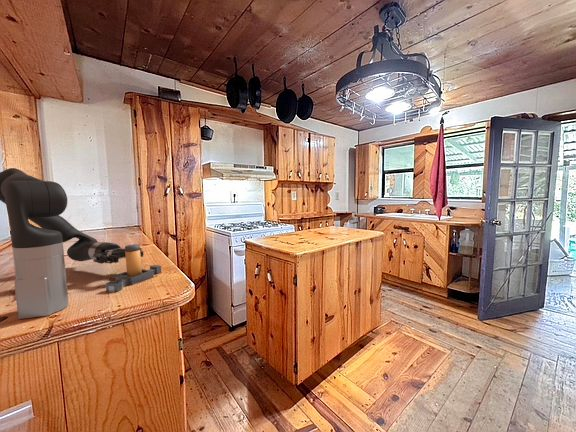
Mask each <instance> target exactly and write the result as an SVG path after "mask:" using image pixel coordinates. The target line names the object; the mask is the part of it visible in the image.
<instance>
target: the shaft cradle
mask: <svg viewBox="0 0 576 432" xmlns="http://www.w3.org/2000/svg"><path fill="white" fill-rule="evenodd" d="M161 272H162V265H158V264H153V265H150V266H149V269H144V268H142V274H138V275H135V276H127V271H124V272H123V271H122V272H120V273H118V274H115V275H114V278H115V280H111V281H108V282H106V283H105V292H106V293H117V292H118V293H119V292H120V291H122V290H123V288H125V287H127V286H129V285H130V286H133V285H136V284H139V283H142V282H145V281H148V280H150V279H154V278H155V275H158V274H161Z"/></svg>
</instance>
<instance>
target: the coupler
mask: <svg viewBox="0 0 576 432" xmlns="http://www.w3.org/2000/svg"><path fill="white" fill-rule="evenodd" d="M124 248H125V255H126V258H125V264H126V265H125V267H126V272H127V276H135V275H138V274H142V269H143V268H142V259H141V258H142V257H141V255H140V248H141V246H140V244H129V245H125V246H124Z"/></svg>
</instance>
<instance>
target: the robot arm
mask: <svg viewBox="0 0 576 432" xmlns="http://www.w3.org/2000/svg"><path fill="white" fill-rule="evenodd" d="M62 186H63V185H61V184H59V183H57V182H55V181H51V180H41V179H40V178H37V177H35V176H32V175H28V174H27V173H25V172H24V171H22V170H21V169H18V168H16V167H11V168H7V169H5V170H2V171H1V172H0V201H1V203H3V204H5V207H6V211H7V216H8V220H9V221H8V222H9V228H10V237H11V238H10V239H11V247H12V249H11V250H12V256H13V264H14V265H13V266H14V275H15V280H14V292H15V300H16V301H15V302H16V308H17V309H16V310H17V316H18V317H17V318H18V320H21V319H30V318H32V319H33V318H37V317H38V318H39V317H47V316H50V315H52V314H54V313H57V312H59V311H61V310H64V309H65V308H67V307H68V306H69V303H70V302H69V294H68V293H69V292H68V284H67V283H68V282H67V271H66V262H65V253H64V243H66V242H69V241H71V240H72V239H78V240H77V241H76V242H74V243H73V244H72V245H70V246H69V247H68V249H67V250H66V254H67V256H68V257H69V258H70V260H73V261H75V262H86V261H91V260H92V261H93V262H95V263H98V264H102V265H103V264H116V263H119V260H122V259H126V255H125V247H121V245H119V244H117V243H113V242H108V241H98V240H97V239H96V238H94V237H93V236H90V235H89V234H86V233H84V232H83V231H80V230H79V229H77V227H75V226H73V225H72V223H70V222H69V221H68V220H67V219H65V218H64V217H63V216H61V215H62V214H63V213H64V212H65V210H66V209H67V206H68V196H67V193H66V191H65V189H64V188H63V187H62ZM30 221H31V222H33V223H34V224H35V225H34V224H32V223H30ZM140 255H141V258H143V257H144V251H143V250H142V248H141V247H140Z"/></svg>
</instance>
